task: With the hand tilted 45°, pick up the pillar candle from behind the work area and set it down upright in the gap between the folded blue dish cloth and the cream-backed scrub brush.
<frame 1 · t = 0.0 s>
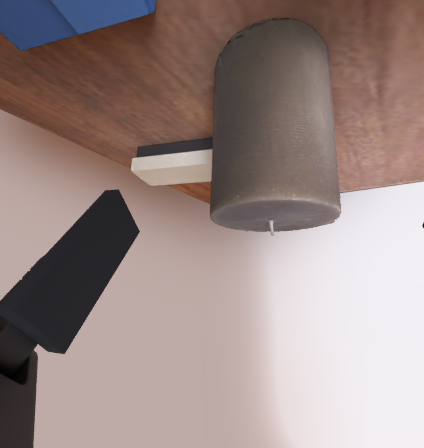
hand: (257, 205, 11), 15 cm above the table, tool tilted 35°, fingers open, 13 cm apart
pillar candle: (269, 70, 23), on the table
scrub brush: (183, 151, 37), on the table
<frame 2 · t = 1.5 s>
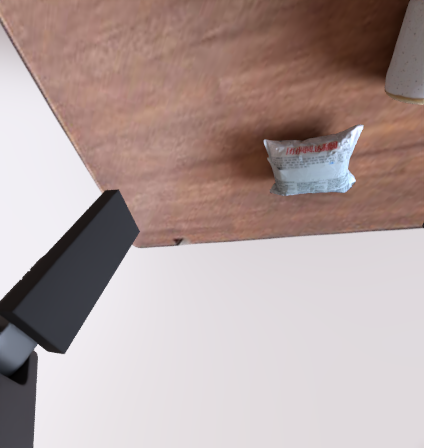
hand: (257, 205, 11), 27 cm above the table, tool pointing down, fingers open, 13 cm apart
packaged food: (309, 154, 37), on the table
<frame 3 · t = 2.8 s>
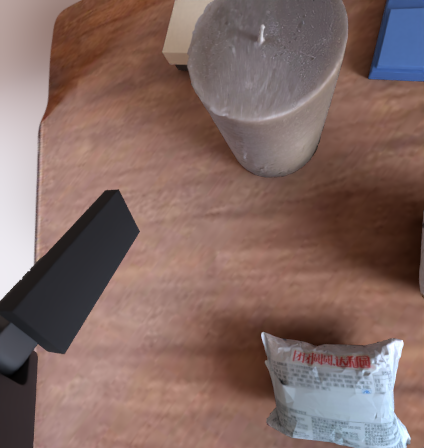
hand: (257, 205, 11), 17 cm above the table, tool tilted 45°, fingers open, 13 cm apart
pillar candle: (273, 136, 28), on the table
packaged food: (326, 370, 25), on the table
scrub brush: (207, 24, 32), on the table
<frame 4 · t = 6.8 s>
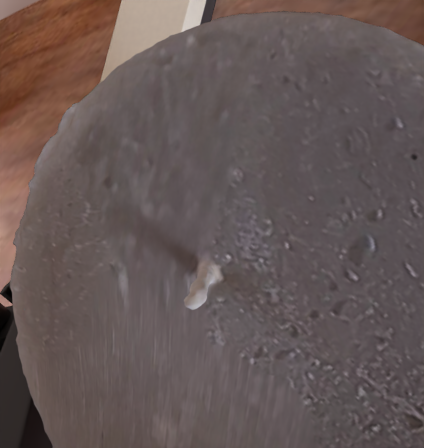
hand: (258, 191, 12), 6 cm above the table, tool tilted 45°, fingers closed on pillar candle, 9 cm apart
pillar candle: (268, 254, 18), on the table, touching gripper
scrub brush: (171, 64, 21), on the table
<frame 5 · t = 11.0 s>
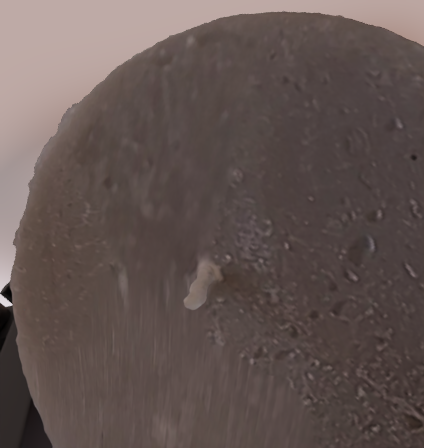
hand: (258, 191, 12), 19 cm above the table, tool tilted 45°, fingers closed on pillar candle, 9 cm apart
pillar candle: (268, 254, 18), point 12 cm above the table, touching gripper
when the fingers open (6 cm above the table, at t = 15.3 s): pillar candle stays where it is, on the table.
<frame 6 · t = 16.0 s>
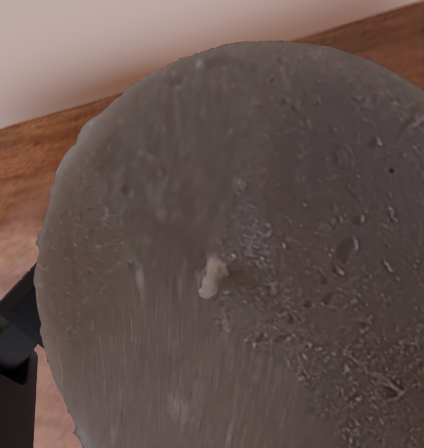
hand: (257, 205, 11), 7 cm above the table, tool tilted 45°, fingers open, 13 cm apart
pillar candle: (267, 253, 18), on the table
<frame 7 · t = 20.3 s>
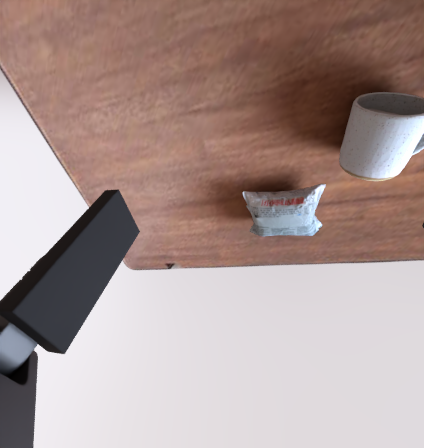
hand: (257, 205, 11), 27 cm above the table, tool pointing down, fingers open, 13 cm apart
packaged food: (282, 201, 42), on the table
ceramic mug: (383, 123, 32), on the table
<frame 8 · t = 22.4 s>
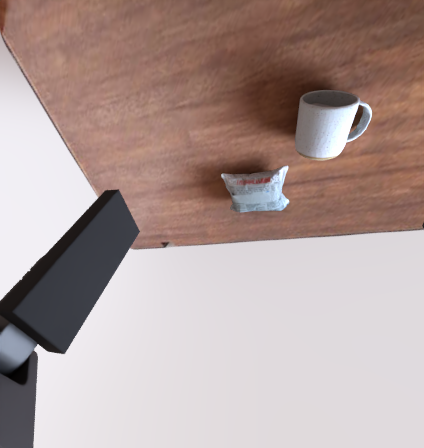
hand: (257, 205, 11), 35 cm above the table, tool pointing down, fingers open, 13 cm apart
packaged food: (256, 182, 50), on the table
ceramic mug: (329, 115, 40), on the table
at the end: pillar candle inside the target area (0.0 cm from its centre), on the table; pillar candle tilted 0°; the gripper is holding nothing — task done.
